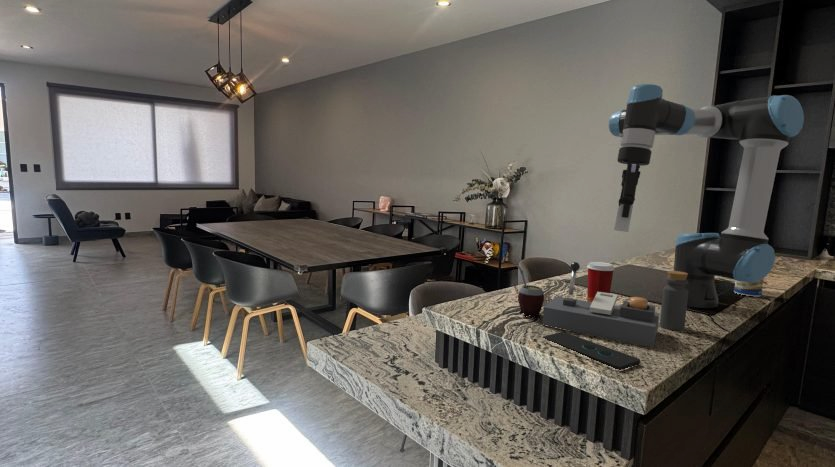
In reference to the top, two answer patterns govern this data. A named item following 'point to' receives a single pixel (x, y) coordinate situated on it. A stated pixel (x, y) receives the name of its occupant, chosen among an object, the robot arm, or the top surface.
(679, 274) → the bottle
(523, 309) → the mate gourd
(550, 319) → the console
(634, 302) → the push button
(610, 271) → the paper cup
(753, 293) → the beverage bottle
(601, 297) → the plate
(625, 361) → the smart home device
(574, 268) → the toggle lever
